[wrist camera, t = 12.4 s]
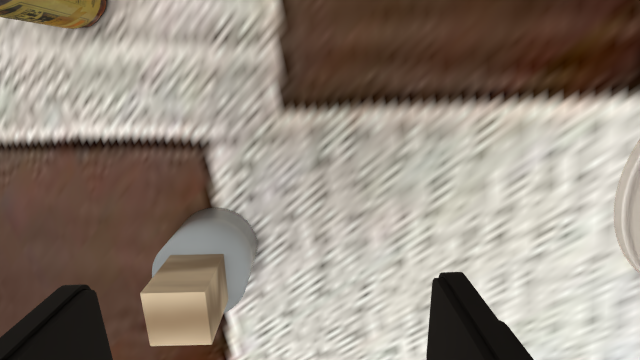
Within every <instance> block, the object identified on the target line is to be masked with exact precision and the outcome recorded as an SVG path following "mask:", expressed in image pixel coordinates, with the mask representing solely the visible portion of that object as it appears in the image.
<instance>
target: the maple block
mask: <svg viewBox="0 0 640 360" xmlns="http://www.w3.org/2000/svg"><path fill="white" fill-rule="evenodd" d="M140 295H141V300H142V305H143V310H144V316H145V321H146V326H147V331H148V336H149V342H150V346H171V345H209V344H212V342H213V340H214V337H215V334H216V332H217V329H218V326H219V323H220V321H221V318H222V315H223V313H224V310H225V307H226V305H227V302H228V290H227V280H226V271H225V262H224V254H196V255H170V256H169V257H168V259H167V260H166V261H165V262H164V264H163V265H162V266H161V268H160V269H159V270H158V271H157V273H156V274H155V275H154V277H153V278H152V279H151V280H150V282H149V283H148V284H147V285H146V287H145V288H144V289H143V291H142V292H141V293H140Z"/></svg>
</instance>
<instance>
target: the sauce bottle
mask: <svg viewBox="0 0 640 360" xmlns="http://www.w3.org/2000/svg"><path fill="white" fill-rule="evenodd" d="M105 7H106V0H0V17H3V18H9V19H15V20H21V21H27V22H33V23H39V24H45V25H51V26H57V27H62V28H71V29H74V28H80V27H89V26H92V24H94V23H95V22H97V21H98V19H99V18H100V16H101V15H102V14H103V12H104V10H105Z"/></svg>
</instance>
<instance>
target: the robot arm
mask: <svg viewBox="0 0 640 360" xmlns="http://www.w3.org/2000/svg"><path fill="white" fill-rule="evenodd" d="M0 360H113V359H112V355H111V351H110V347H109V343H108V338H107V334H106V330H105V326H104V322H103V318H102V314H101V310H100V306H99V302H98V298H97V294H96V292H95V291H94V290H91V289H90V287H89V286H88V285H64V286H61V287H60V288H58V289H57V290H56V291H55V292H53V293H52V294H51V295H50V296H49V297H48V298H46V299H45V300H44V301H43V302H42V303H40V304H39V305H38V306H37V307H36V308H35V309H33V310H32V311H31V312H30V313H29V314H28V315H26V316H25V317H24V318H23V319H22V320H21V321H19V322H18V323H17V324H16V325H15V326H13V327H12V328H11V329H10V330H9V331H8V332H6V333H5V334H4V335H3V336H2V337H1V338H0ZM427 360H533V358H532V357H531V356H530V354H529V353H528V352H527V350H526V349H525V348H524V347H523V345H522V344H521V343H520V341H519V340H518V339H517V337H516V336H515V335H514V334H513V332H512V331H511V330H510V328H509V327H508V326H507V325H506V324H505V323H504V322H502V321H499V320H498V319H497V317H496V316H495V315H494V313H493V312H492V311H491V309H490V308H489V307H488V305H487V304H486V303H485V301H484V300H483V299H482V297H481V296H480V295H479V293H478V292H477V291H476V289H475V288H474V287H473V285H472V284H471V283H470V281H469V280H468V279H467V277H466V276H465V275H464V274H463V273H462V272H447V273H440V275H439V278H434V279H433V283H432V295H431V307H430V319H429V332H428V344H427Z"/></svg>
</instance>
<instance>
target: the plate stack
mask: <svg viewBox="0 0 640 360" xmlns="http://www.w3.org/2000/svg"><path fill="white" fill-rule="evenodd" d="M614 227H615V232H616V237H617V240H618V243H619V246H620V248H621V250H622V252H623V254H624V256H625V257H626V259H627V260H628V262H629V263H630V264H631V265H632V266H633V268H634V269H635V270H636V271H637V272H639V273H640V139H639V141H638V142H637V144H636V146H635V147H634V149H633V151H632V152H631V154H630V156H629V158H628V160H627V162H626V164H625V167H624V169H623V171H622V174H621V177H620V180H619V183H618V187H617V191H616V196H615V202H614Z"/></svg>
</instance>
